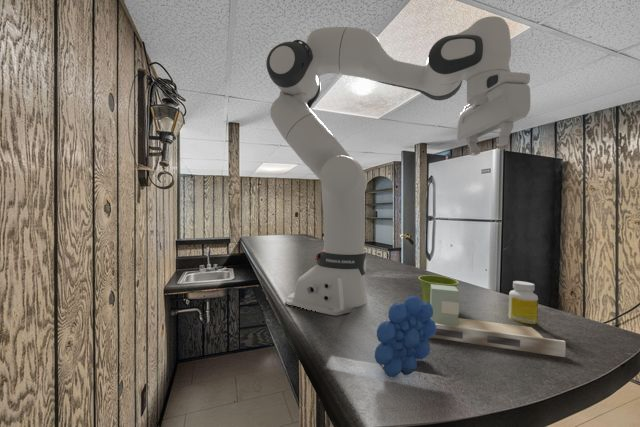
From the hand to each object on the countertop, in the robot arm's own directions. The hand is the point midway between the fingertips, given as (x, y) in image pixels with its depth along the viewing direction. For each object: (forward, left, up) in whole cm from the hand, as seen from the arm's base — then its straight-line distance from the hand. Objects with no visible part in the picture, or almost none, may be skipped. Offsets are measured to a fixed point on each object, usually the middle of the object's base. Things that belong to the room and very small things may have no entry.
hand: (487, 150), depth 65 cm
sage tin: (-10, -10, -39) cm, 41 cm away
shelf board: (-3, -10, -40) cm, 42 cm away
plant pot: (-10, +2, -41) cm, 42 cm away
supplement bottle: (+8, +1, -41) cm, 41 cm away
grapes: (-18, -28, -41) cm, 52 cm away
